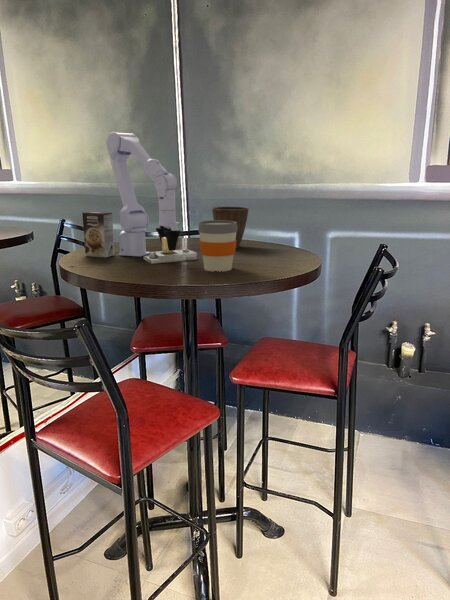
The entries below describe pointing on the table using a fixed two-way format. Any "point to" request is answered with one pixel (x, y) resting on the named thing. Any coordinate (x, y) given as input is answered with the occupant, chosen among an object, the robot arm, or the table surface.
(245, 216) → the plant pot
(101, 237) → the coffee box
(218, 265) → the reusable coffee cup
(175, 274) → the table surface
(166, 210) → the robot arm
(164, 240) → the brass pin
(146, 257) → the square-hole plate
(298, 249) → the table surface
